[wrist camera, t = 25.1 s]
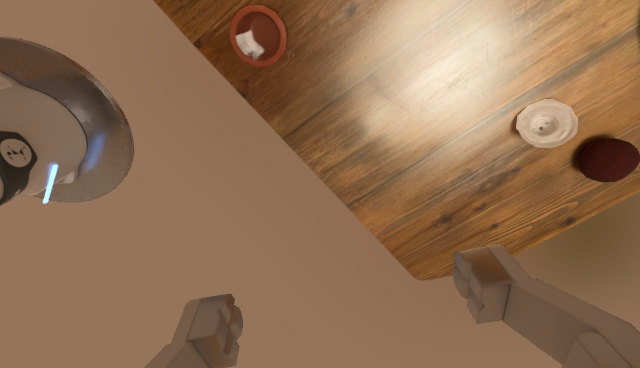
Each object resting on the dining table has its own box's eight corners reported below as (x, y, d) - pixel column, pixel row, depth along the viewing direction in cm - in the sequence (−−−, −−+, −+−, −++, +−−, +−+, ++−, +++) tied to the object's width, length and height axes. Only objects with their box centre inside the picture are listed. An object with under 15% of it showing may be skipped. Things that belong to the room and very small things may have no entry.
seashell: (514, 120, 54) (511, 155, 51) (518, 98, 50) (516, 135, 47) (570, 120, 50) (571, 158, 47) (580, 97, 46) (581, 136, 43)
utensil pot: (248, 63, 43) (240, 72, 37) (233, 11, 39) (221, 10, 33) (292, 54, 43) (291, 61, 37) (281, 0, 39) (278, -2, 33)
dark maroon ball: (620, 142, 53) (661, 158, 47) (585, 176, 57) (619, 195, 51) (594, 125, 51) (634, 140, 45) (559, 161, 55) (592, 180, 49)
